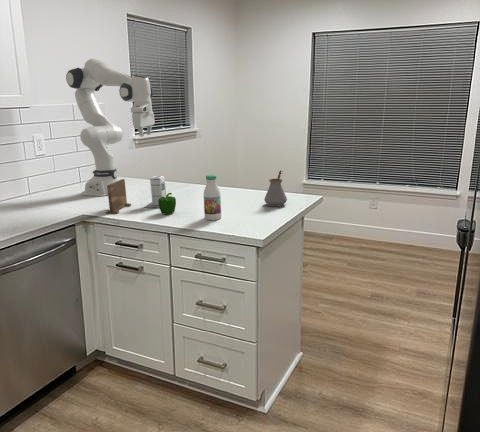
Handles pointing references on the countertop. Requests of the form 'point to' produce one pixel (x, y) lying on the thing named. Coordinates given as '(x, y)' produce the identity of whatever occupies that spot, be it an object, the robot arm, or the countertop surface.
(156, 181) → the syrup box
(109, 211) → the brown wooden display stand
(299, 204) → the countertop surface
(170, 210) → the bell pepper
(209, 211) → the milk bottle
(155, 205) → the coaster
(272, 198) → the coffee pot
